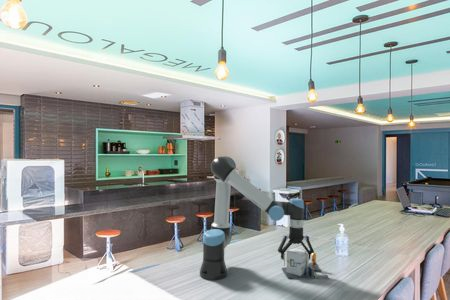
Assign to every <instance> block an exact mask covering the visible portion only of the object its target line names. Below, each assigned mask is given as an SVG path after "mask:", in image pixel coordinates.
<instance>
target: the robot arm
mask: <svg viewBox="0 0 450 300" xmlns="http://www.w3.org/2000/svg"><path fill="white" fill-rule="evenodd" d="M210 170H211V173H212V174H213V175H214V176H213V180H215V182H216V186H215V202H214V217H213V222H212V223H211V226H210V229H208V230H206V231H205V232H204V233H203V238H202V242H203V243H202V244H203V247H202V263H201V265H200V268H199V277H201V278H202V279H204V280H211V281H218V280H222V279H225V278H227V276H228V269H227V265H226V261H225V250H226V248H227V246H228V245H229V244H230V243H231V241H232V238H233V237H232V236H233V234H232V230H231V228H232V225H231V224H230V223H229V219H230V218H229V217H230V204H231V190H232V189H231V188H232V187H233V188H234V189H235V190H236V191H238V192H239V193H241V194H242V195H243V196H244V197H245V198H246V199H248V200H249V201H251V202H252V203H253V204H254V205H256V206H257V207H258V208H259V209H261V210H262V211H263V212H265V213H266V214H268V216H269V218H270V220H273V221H275V222H276V221H277V222H278V221H280V220H282V219H283V218H284V216H289V228H288V229H289V230H288V231H289V234H288V235H286V234H283V238H282V240H281V242H280V244H279V246H278V249H277V252H278V253H280V259H281V260H282V266H283V267H285V266H286V252H287V251H288V249H289V248H290V246H291V245H296V244H297V245H300V244H301V246H302V247H303V248H304V249H305V251H306V265H307V266H309V263H310V262H309V261H310V260H311V256H312V253H315V251H314V249H313V246H312V244H311V241H310V236H308V234H305V235H304V216H305V215H304V212H305V207H304V206H305V204H304V203H305V201H304V199H301V198H296V197H295V198H294V197H293V198H290V199H289V201H280V200H278V201H277V200H274V199H272V198H271V197H270V196H268V195H267V194H266V193H265V192H263V191H262V190H260V189H259V188H258V187H257V186H255V185H254V184H253V183H252V182H250V181H249V180H247V179H246V178H245V177H243V176H242V175H241V174H240V173H239V172H237V163H236V162H235V160H234V159H233V158H231V156H227V155H226V156H216V157H215V158H214V159H212V161H211V163H210ZM288 239H289V240H288ZM287 240H288V241H287ZM303 240H305V242H306V244H307V245H305V243H304V242H303ZM286 242H287V243H286ZM307 246H308V247H307ZM308 248H309V249H308Z"/></svg>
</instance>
